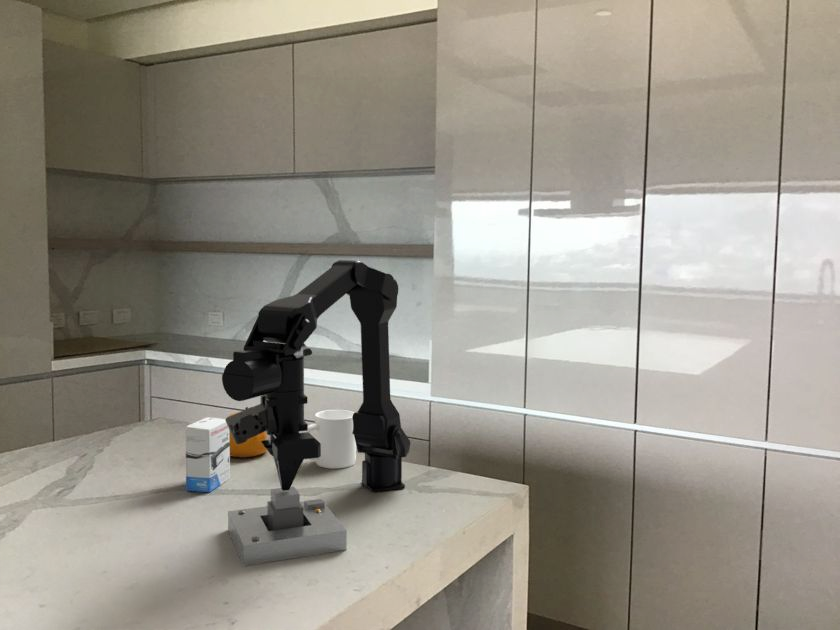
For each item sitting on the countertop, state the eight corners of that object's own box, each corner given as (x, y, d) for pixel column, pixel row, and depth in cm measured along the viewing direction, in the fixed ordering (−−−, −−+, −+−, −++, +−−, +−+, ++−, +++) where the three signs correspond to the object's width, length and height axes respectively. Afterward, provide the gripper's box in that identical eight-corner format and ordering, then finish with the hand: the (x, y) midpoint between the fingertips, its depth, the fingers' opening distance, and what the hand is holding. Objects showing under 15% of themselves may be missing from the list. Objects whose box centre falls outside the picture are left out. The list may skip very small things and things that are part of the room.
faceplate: (320, 516, 123) (320, 494, 123) (346, 549, 110) (346, 524, 110) (228, 529, 117) (227, 506, 117) (243, 566, 105) (243, 539, 104)
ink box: (210, 493, 134) (209, 429, 132) (184, 491, 135) (183, 427, 133) (231, 478, 142) (230, 417, 141) (207, 476, 143) (206, 416, 142)
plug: (296, 528, 117) (296, 485, 116) (303, 539, 113) (303, 494, 112) (267, 532, 115) (267, 488, 114) (273, 544, 111) (273, 498, 110)
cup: (364, 464, 152) (364, 415, 151) (313, 475, 144) (313, 424, 143) (340, 454, 158) (341, 407, 157) (291, 465, 151) (291, 416, 150)
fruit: (248, 442, 167) (248, 398, 166) (285, 451, 160) (285, 406, 159) (205, 454, 157) (204, 408, 156) (243, 465, 151) (242, 416, 150)
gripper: (220, 380, 117) (221, 477, 118) (240, 406, 100) (242, 518, 101) (290, 376, 121) (291, 469, 123) (321, 399, 104) (321, 507, 106)
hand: (285, 489), depth 113 cm, fingers closed
